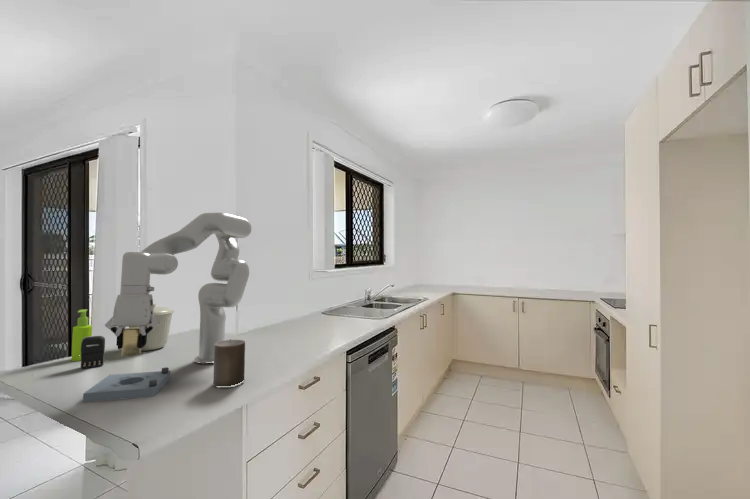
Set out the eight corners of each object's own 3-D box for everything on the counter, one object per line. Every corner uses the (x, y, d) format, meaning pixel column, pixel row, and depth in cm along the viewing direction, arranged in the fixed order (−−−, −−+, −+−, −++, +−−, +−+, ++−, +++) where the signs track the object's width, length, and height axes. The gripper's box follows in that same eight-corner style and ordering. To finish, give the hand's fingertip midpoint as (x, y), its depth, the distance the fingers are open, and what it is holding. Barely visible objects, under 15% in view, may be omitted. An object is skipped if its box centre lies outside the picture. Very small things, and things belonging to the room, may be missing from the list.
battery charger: (79, 370, 121) (80, 338, 122) (80, 367, 124) (81, 336, 125) (103, 366, 125) (105, 336, 126) (104, 364, 129) (105, 334, 129)
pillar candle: (249, 383, 112) (250, 339, 113) (219, 391, 105) (221, 343, 106) (237, 376, 119) (238, 334, 120) (208, 383, 112) (210, 338, 113)
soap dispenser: (68, 362, 129) (70, 311, 130) (74, 357, 136) (76, 308, 136) (87, 360, 132) (89, 310, 133) (92, 356, 138) (94, 308, 139)
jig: (170, 377, 116) (170, 366, 116) (154, 396, 101) (155, 382, 101) (109, 382, 111) (109, 370, 111) (82, 402, 95) (83, 388, 95)
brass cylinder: (143, 351, 109) (144, 327, 109) (137, 355, 104) (138, 330, 104) (125, 352, 107) (126, 327, 108) (118, 356, 102) (119, 330, 103)
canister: (119, 355, 140) (121, 305, 141) (130, 344, 157) (132, 300, 157) (168, 351, 147) (170, 304, 148) (175, 341, 164) (176, 299, 165)
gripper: (168, 289, 113) (165, 343, 112) (109, 289, 108) (105, 346, 107) (161, 291, 105) (158, 349, 105) (97, 291, 100) (93, 352, 100)
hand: (131, 347), depth 106 cm, fingers closed on brass cylinder, 5 cm apart
